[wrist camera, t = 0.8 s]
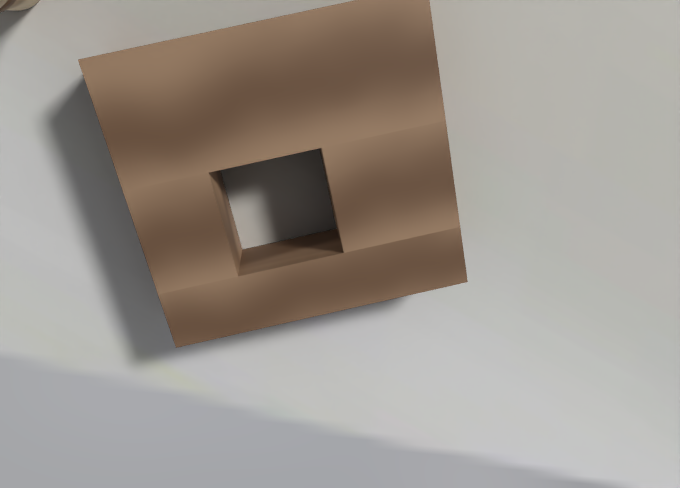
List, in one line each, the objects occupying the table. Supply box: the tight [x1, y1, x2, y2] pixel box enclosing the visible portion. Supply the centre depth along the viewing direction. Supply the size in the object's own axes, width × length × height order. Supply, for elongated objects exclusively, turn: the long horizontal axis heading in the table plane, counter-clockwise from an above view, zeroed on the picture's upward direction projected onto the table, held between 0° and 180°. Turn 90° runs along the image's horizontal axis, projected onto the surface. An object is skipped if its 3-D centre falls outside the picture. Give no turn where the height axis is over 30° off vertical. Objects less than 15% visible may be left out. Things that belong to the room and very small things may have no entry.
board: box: [78, 0, 468, 348], centre depth 31 cm, size 15×16×4 cm
